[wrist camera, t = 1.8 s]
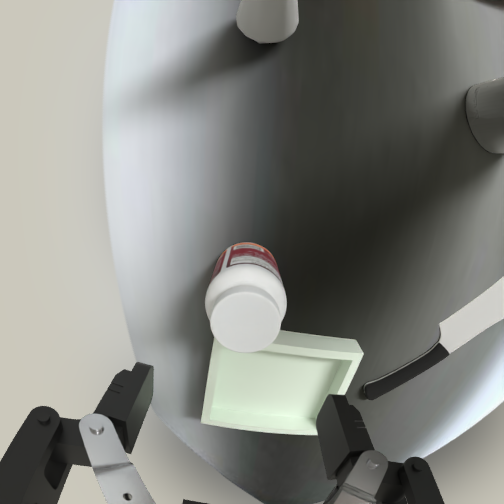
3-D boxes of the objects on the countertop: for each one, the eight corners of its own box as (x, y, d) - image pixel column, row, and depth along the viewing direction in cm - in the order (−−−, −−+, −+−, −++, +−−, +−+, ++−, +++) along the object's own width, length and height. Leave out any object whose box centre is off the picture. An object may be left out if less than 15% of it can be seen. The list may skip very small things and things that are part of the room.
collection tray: (355, 339, 32) (363, 353, 29) (318, 420, 35) (322, 435, 32) (217, 319, 31) (214, 333, 28) (203, 407, 34) (200, 422, 31)
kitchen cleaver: (523, 250, 28) (527, 306, 29) (516, 248, 30) (521, 303, 31) (352, 357, 32) (371, 410, 33) (349, 351, 33) (367, 403, 35)
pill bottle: (239, 309, 30) (234, 375, 20) (203, 263, 29) (178, 314, 18) (289, 277, 29) (309, 334, 19) (254, 228, 28) (256, 262, 18)
